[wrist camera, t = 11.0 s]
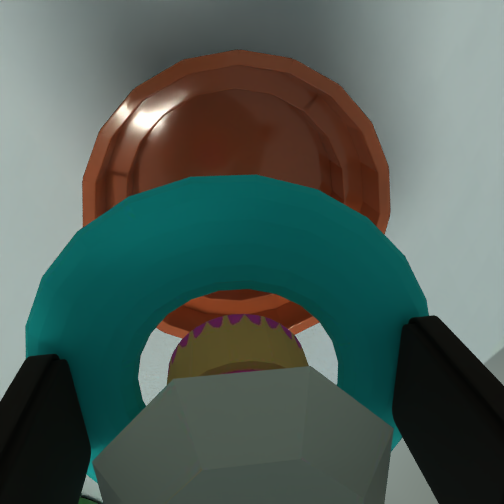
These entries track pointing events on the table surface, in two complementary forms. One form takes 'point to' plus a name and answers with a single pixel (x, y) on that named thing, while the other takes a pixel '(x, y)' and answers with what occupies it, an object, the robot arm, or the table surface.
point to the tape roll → (85, 501)
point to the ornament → (231, 344)
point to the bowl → (239, 152)
